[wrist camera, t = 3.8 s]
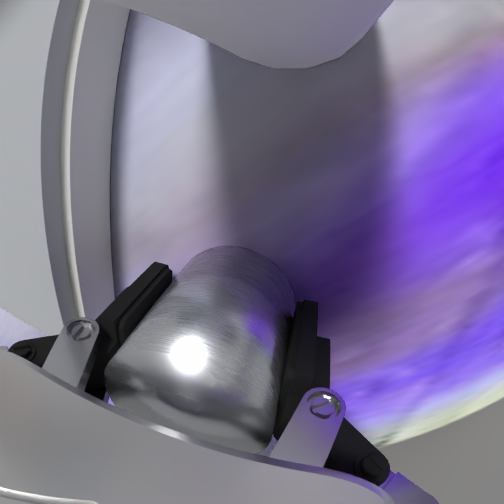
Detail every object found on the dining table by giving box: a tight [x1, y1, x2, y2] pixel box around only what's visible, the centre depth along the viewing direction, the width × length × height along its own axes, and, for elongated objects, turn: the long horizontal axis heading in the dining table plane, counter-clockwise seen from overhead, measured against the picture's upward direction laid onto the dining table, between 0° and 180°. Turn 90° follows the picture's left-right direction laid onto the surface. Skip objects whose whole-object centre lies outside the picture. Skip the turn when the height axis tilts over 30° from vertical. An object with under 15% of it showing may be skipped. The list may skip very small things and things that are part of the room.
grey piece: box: [104, 246, 295, 454], centre depth 10 cm, size 5×5×6 cm
